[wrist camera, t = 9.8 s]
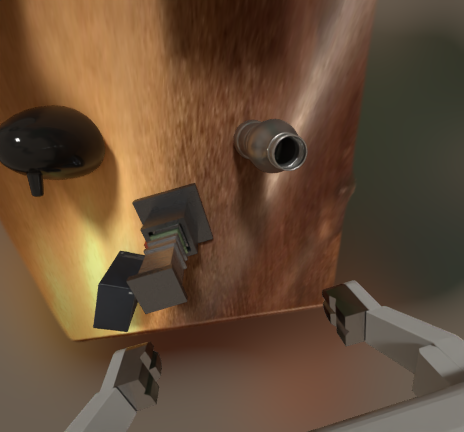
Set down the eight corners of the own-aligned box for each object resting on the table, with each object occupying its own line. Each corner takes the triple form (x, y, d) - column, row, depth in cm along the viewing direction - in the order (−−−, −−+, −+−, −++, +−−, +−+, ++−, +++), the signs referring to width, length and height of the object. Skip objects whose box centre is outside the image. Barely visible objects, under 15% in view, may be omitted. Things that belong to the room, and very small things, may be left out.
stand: (134, 200, 42) (117, 220, 33) (195, 182, 42) (193, 198, 33) (158, 251, 47) (149, 280, 38) (212, 235, 47) (215, 260, 38)
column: (152, 224, 38) (126, 281, 24) (181, 215, 38) (171, 268, 24) (163, 249, 40) (145, 314, 26) (191, 240, 40) (187, 301, 26)
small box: (117, 249, 45) (96, 283, 36) (150, 255, 47) (137, 289, 37) (111, 289, 49) (90, 329, 39) (142, 293, 51) (128, 333, 41)
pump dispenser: (60, 175, 38) (-18, 206, 25) (34, 110, 34) (-78, 102, 20) (120, 169, 39) (78, 195, 26) (102, 104, 35) (39, 93, 21)
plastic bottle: (253, 164, 42) (294, 196, 24) (224, 143, 40) (245, 162, 22) (273, 134, 41) (334, 144, 22) (244, 111, 38) (285, 102, 20)
